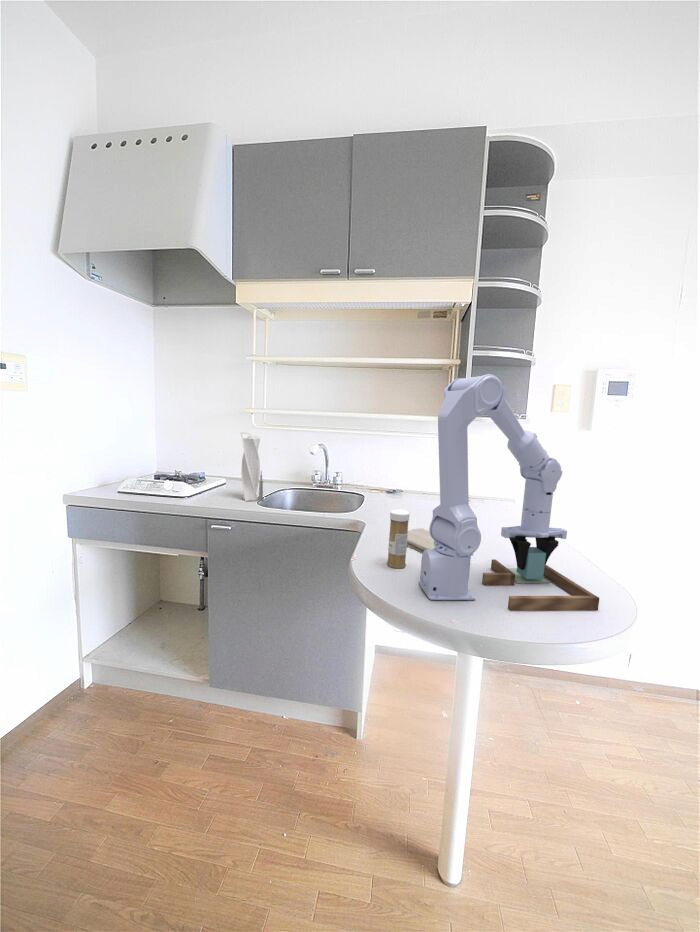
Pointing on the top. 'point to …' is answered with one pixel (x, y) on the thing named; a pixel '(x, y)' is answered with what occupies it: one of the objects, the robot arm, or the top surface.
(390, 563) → the sprinkles bottle
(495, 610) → the top surface
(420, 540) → the washcloth
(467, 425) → the robot arm
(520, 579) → the pad
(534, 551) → the teal block
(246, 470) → the skyscraper
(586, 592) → the channel
